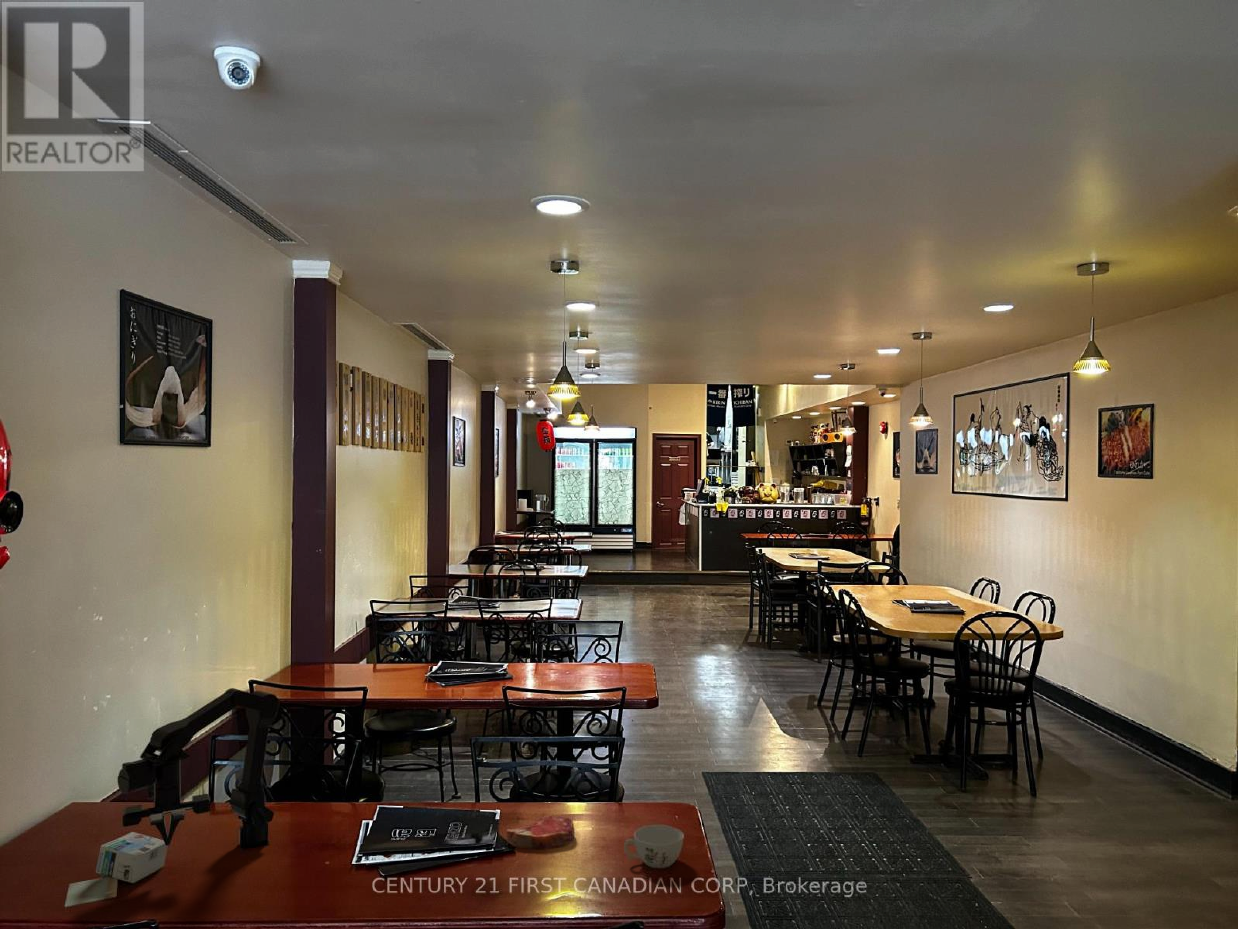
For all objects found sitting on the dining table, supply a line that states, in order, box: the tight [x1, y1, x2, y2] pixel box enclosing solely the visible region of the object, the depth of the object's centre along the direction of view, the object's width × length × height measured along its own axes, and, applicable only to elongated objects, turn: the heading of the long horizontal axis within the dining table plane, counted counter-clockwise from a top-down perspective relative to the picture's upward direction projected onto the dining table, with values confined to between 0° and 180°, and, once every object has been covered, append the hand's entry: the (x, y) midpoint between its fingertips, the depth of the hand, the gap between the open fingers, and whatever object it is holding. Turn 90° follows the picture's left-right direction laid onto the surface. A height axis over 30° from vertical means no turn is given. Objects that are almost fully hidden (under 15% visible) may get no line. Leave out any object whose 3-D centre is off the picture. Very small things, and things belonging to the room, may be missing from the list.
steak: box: [505, 815, 576, 851], centre depth 226 cm, size 25×21×6 cm
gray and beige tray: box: [64, 876, 119, 908], centre depth 199 cm, size 10×12×2 cm
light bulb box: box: [95, 831, 169, 884], centre depth 207 cm, size 11×7×11 cm
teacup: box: [623, 824, 685, 869], centre depth 214 cm, size 15×12×8 cm
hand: (167, 845), depth 206 cm, fingers closed
